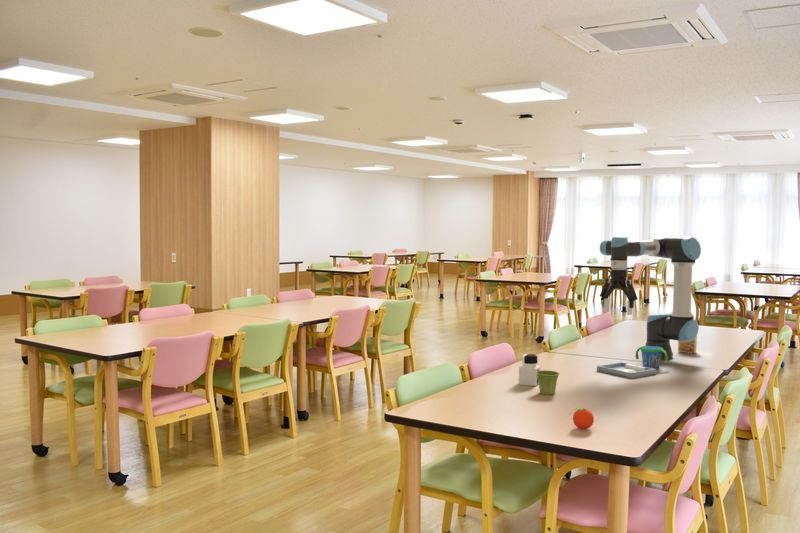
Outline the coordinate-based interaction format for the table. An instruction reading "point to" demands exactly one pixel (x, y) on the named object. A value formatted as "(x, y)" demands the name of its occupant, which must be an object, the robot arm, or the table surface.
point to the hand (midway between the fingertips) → (617, 313)
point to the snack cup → (651, 356)
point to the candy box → (688, 346)
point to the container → (529, 370)
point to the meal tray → (626, 370)
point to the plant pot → (547, 381)
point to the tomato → (583, 418)
